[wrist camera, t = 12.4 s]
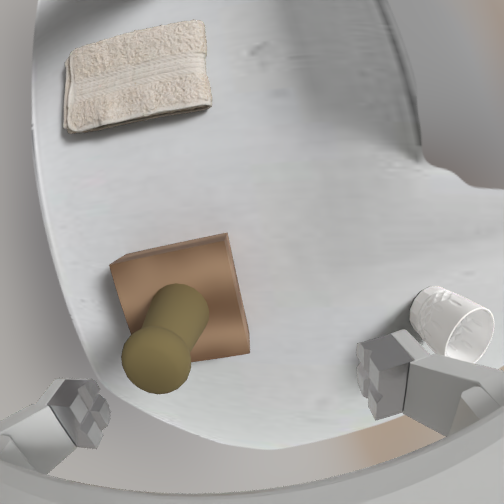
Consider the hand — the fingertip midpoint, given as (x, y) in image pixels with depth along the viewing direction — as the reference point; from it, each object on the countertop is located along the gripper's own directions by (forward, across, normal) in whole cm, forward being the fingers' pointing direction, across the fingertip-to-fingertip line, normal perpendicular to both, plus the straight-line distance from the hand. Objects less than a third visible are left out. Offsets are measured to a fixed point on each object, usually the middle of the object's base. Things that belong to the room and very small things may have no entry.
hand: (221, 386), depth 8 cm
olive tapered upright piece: (+21, +7, +6) cm, 23 cm away
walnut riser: (+26, +7, +6) cm, 27 cm away
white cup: (+26, -23, +15) cm, 37 cm away
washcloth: (+27, +8, -20) cm, 35 cm away
